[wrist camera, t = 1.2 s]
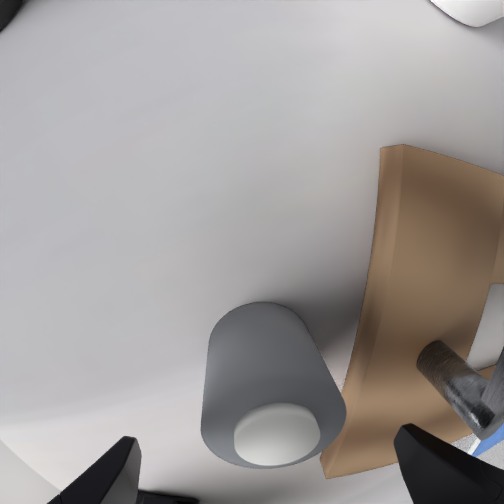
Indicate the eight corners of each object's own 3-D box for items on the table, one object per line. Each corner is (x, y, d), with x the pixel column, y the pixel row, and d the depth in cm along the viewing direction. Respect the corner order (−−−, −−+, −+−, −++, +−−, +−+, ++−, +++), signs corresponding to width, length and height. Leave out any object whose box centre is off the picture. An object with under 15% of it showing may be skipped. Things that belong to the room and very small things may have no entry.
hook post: (438, 368, 13) (498, 431, 7) (411, 374, 13) (472, 446, 7) (471, 246, 12) (563, 282, 6) (445, 244, 11) (545, 285, 6)
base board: (491, 407, 18) (501, 417, 16) (319, 458, 17) (326, 479, 15) (552, 202, 14) (568, 206, 12) (380, 148, 12) (403, 144, 10)
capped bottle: (302, 385, 15) (333, 472, 9) (209, 385, 14) (203, 480, 8) (316, 302, 14) (369, 380, 8) (208, 300, 13) (195, 387, 7)
